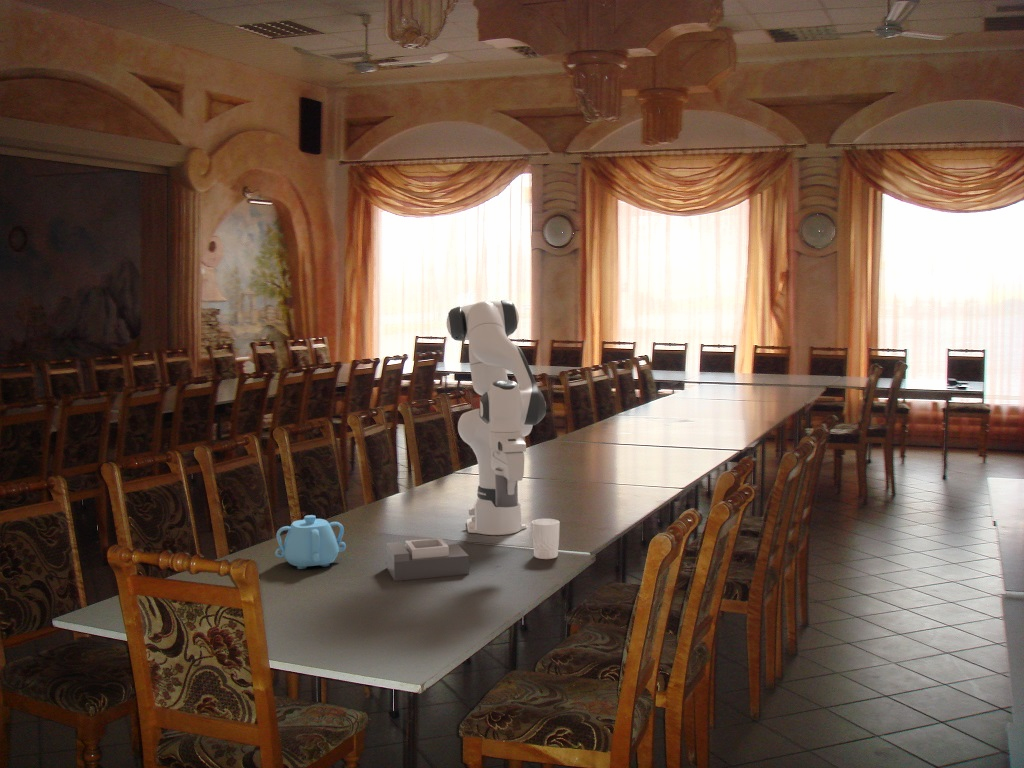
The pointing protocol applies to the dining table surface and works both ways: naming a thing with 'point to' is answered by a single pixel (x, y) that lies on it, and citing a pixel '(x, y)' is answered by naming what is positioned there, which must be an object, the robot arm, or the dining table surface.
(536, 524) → the white cup
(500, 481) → the lens
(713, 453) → the dining table surface
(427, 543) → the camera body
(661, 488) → the dining table surface
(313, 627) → the dining table surface
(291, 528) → the decorative pot
